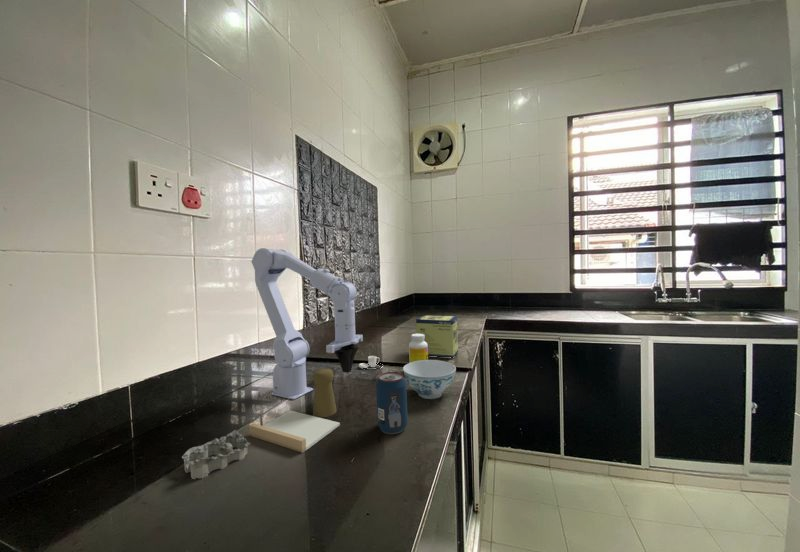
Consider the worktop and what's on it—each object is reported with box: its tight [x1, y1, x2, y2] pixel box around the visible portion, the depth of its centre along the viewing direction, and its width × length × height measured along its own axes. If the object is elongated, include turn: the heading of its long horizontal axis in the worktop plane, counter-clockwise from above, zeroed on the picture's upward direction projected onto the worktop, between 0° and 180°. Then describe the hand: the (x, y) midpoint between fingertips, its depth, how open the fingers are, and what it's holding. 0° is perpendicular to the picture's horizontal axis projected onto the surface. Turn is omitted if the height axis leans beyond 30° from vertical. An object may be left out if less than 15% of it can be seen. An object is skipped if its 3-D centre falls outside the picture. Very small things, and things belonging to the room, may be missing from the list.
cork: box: [312, 368, 337, 418], centre depth 80 cm, size 6×6×11 cm
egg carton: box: [181, 429, 251, 480], centre depth 61 cm, size 10×7×4 cm
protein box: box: [415, 315, 459, 358], centre depth 130 cm, size 10×16×16 cm
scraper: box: [248, 410, 341, 454], centre depth 72 cm, size 16×12×2 cm
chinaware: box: [402, 359, 457, 400], centre depth 89 cm, size 15×15×8 cm
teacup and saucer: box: [358, 355, 384, 369], centre depth 117 cm, size 9×8×4 cm
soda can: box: [375, 371, 408, 435], centre depth 71 cm, size 7×7×12 cm
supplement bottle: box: [408, 333, 429, 363], centre depth 110 cm, size 7×7×13 cm
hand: (346, 371), depth 89 cm, fingers closed
